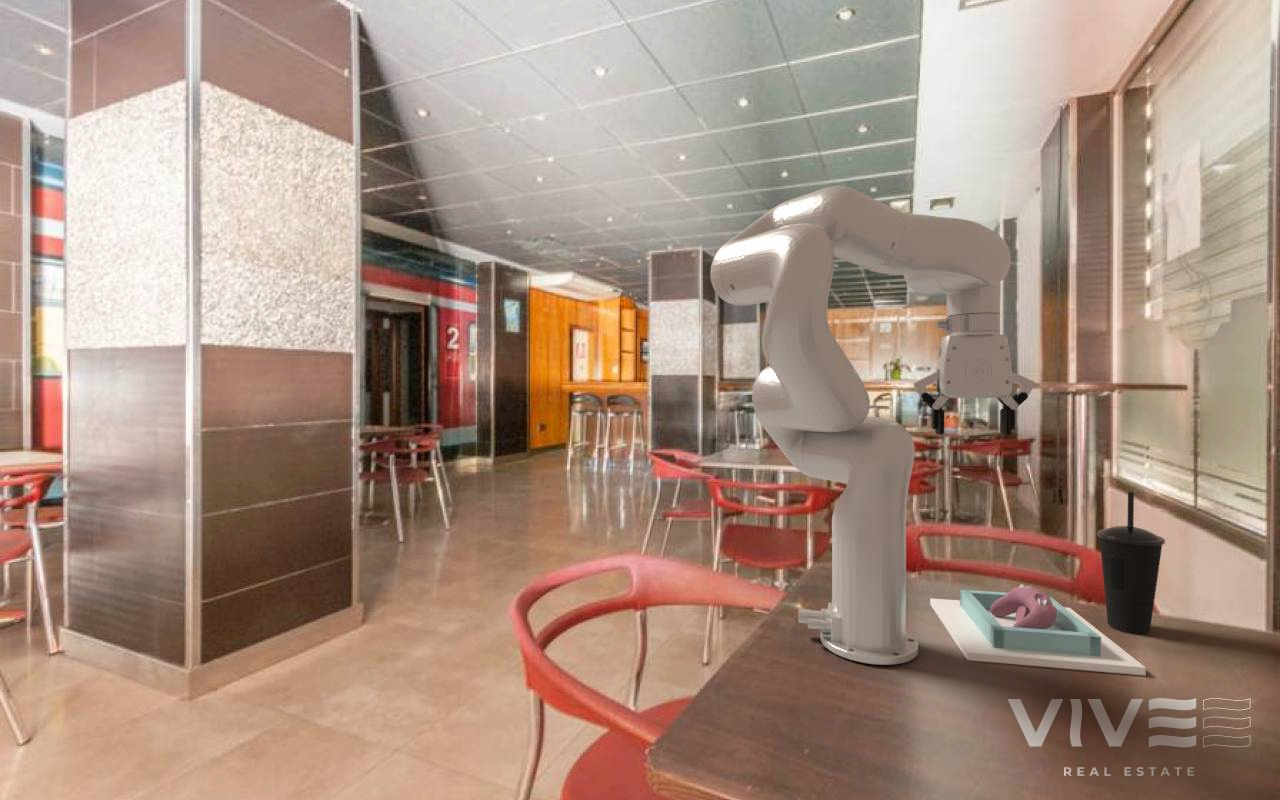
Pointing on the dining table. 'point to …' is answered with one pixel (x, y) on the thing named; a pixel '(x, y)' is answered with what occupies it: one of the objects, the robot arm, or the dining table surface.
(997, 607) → the video game controller
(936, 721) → the dining table surface
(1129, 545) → the drinking cup
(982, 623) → the dock
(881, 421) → the robot arm
